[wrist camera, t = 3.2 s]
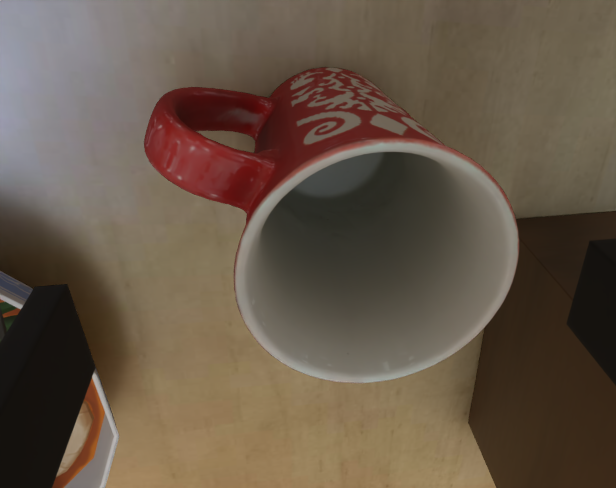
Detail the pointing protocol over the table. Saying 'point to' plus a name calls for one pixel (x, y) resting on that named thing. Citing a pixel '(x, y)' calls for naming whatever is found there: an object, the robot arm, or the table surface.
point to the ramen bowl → (91, 420)
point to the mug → (344, 223)
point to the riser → (545, 369)
